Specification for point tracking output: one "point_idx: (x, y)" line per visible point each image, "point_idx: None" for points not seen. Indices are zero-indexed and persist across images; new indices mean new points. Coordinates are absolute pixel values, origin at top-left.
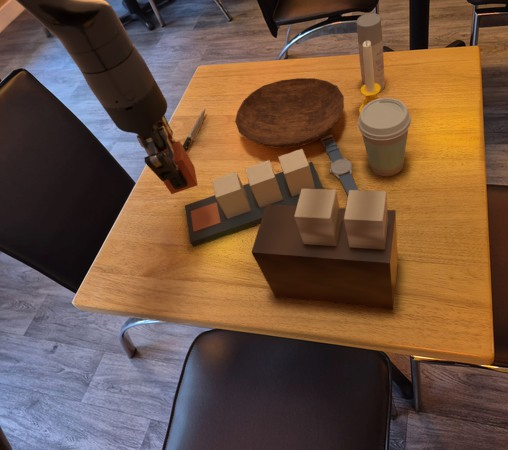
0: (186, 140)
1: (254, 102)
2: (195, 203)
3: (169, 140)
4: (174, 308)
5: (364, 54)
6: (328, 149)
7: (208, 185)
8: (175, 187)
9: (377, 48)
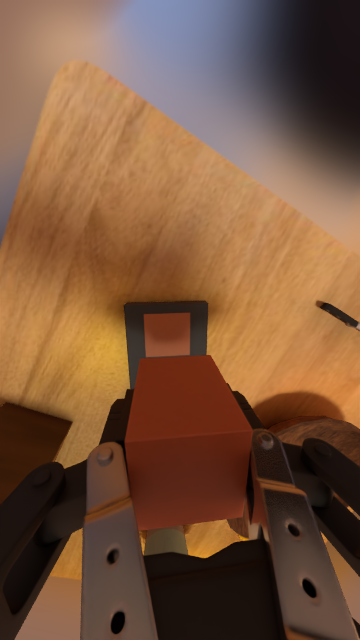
0: (352, 320)
1: (353, 437)
2: (203, 321)
3: (249, 519)
4: (12, 261)
5: None
6: None
7: (240, 337)
8: (111, 408)
9: None
